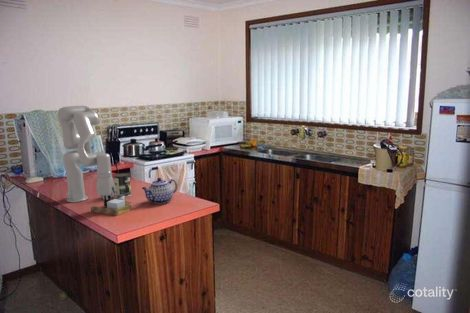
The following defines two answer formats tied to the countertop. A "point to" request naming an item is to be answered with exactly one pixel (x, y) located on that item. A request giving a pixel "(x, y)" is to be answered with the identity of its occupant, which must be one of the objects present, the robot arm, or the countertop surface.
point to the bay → (111, 210)
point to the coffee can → (122, 183)
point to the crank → (125, 190)
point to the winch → (122, 199)
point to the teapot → (160, 191)
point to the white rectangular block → (115, 204)
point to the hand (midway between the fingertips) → (107, 205)
